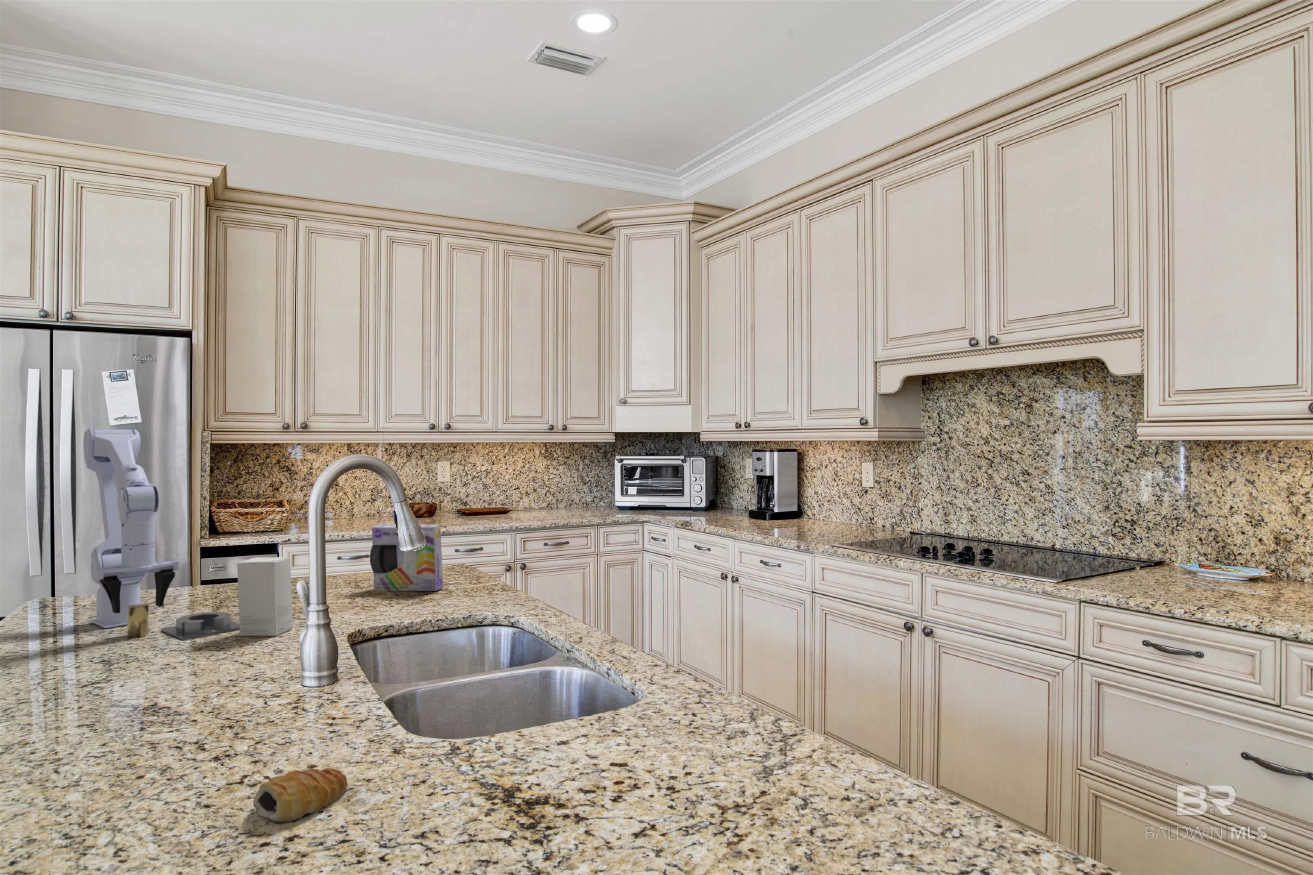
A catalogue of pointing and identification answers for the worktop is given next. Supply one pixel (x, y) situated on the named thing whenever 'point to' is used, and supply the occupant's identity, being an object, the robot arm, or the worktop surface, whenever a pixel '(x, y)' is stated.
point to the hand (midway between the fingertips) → (138, 609)
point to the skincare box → (265, 596)
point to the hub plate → (208, 631)
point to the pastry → (299, 793)
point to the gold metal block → (138, 620)
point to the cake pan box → (406, 561)
